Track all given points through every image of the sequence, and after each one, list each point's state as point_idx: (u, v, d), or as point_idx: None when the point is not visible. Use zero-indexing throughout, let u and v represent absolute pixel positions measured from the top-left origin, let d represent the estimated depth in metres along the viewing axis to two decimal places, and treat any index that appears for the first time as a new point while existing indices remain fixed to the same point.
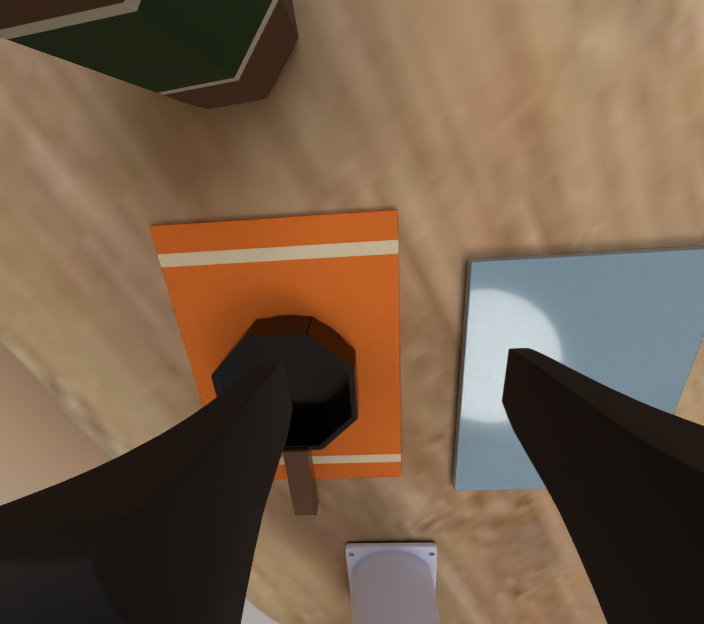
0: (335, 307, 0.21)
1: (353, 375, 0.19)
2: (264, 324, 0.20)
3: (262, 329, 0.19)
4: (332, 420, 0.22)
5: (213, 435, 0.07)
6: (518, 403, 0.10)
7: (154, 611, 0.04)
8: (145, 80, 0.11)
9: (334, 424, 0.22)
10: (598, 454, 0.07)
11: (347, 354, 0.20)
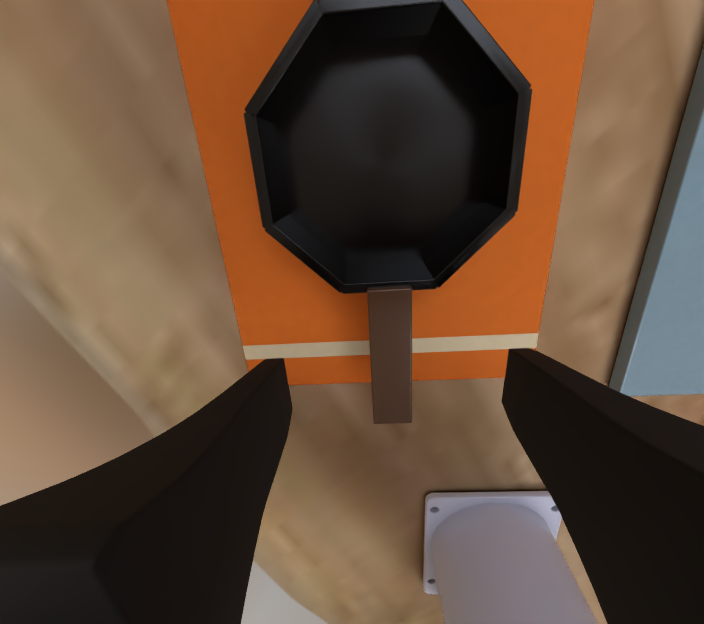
0: (472, 9, 0.11)
1: (528, 100, 0.10)
2: None
3: None
4: (449, 245, 0.13)
5: (213, 434, 0.07)
6: (518, 403, 0.10)
7: (154, 611, 0.04)
8: None
9: (459, 244, 0.12)
10: (598, 454, 0.07)
11: None
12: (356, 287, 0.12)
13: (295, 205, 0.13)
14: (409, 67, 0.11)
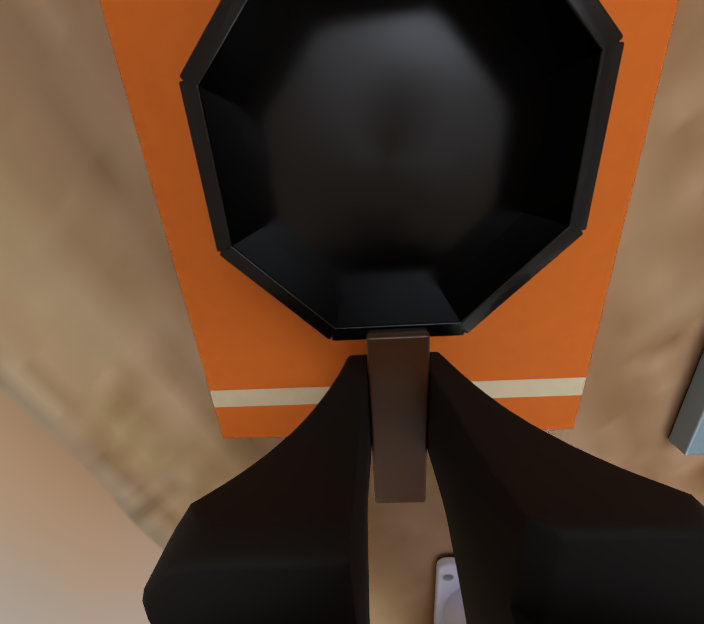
0: None
1: (617, 61, 0.06)
2: None
3: None
4: (479, 272, 0.09)
5: (348, 431, 0.07)
6: None
7: (359, 611, 0.04)
8: None
9: (495, 272, 0.09)
10: (457, 457, 0.07)
11: None
12: (351, 332, 0.09)
13: (269, 216, 0.10)
14: (427, 21, 0.08)
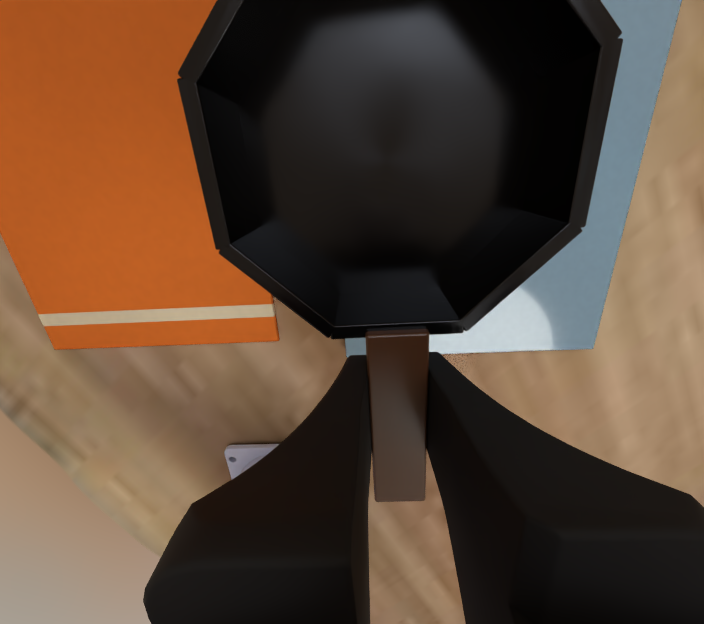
0: (140, 47, 0.14)
1: (616, 57, 0.06)
2: None
3: None
4: (479, 270, 0.09)
5: (349, 431, 0.07)
6: None
7: (359, 611, 0.04)
8: None
9: (494, 270, 0.09)
10: (457, 457, 0.07)
11: None
12: (351, 330, 0.09)
13: (268, 214, 0.10)
14: (426, 18, 0.08)
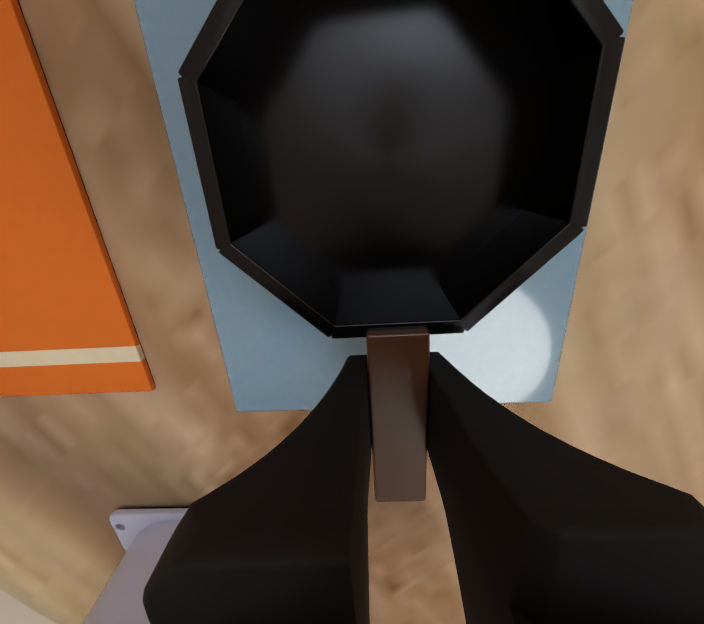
0: None
1: (617, 56, 0.06)
2: None
3: None
4: (479, 270, 0.09)
5: (349, 430, 0.07)
6: None
7: (359, 611, 0.04)
8: None
9: (495, 269, 0.09)
10: (457, 457, 0.07)
11: None
12: (351, 330, 0.09)
13: (269, 214, 0.10)
14: (427, 17, 0.08)
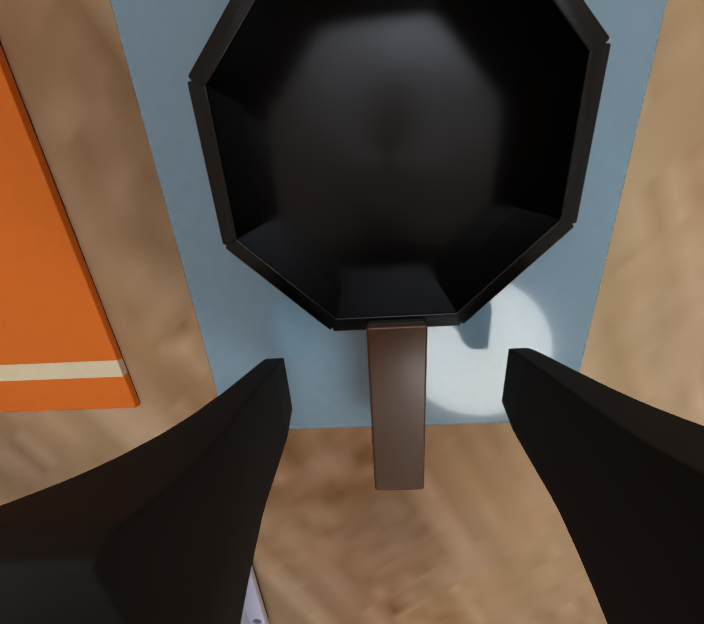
0: None
1: (603, 61, 0.07)
2: None
3: None
4: (475, 266, 0.10)
5: (213, 434, 0.07)
6: (518, 403, 0.10)
7: (154, 611, 0.04)
8: None
9: (490, 264, 0.09)
10: (598, 454, 0.07)
11: None
12: (352, 323, 0.09)
13: (272, 211, 0.10)
14: (424, 23, 0.08)
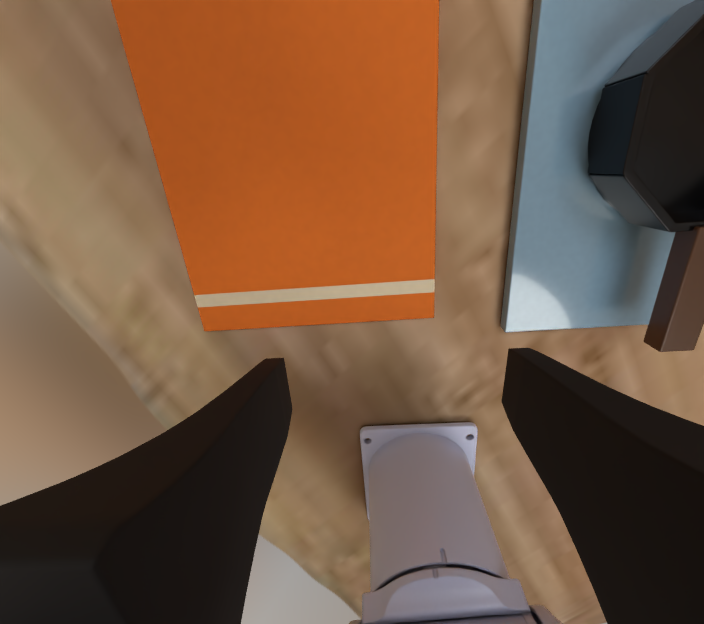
0: (347, 16, 0.14)
1: None
2: None
3: None
4: None
5: (213, 435, 0.07)
6: (518, 403, 0.10)
7: (154, 611, 0.04)
8: None
9: None
10: (598, 454, 0.07)
11: None
12: (685, 226, 0.14)
13: None
14: None
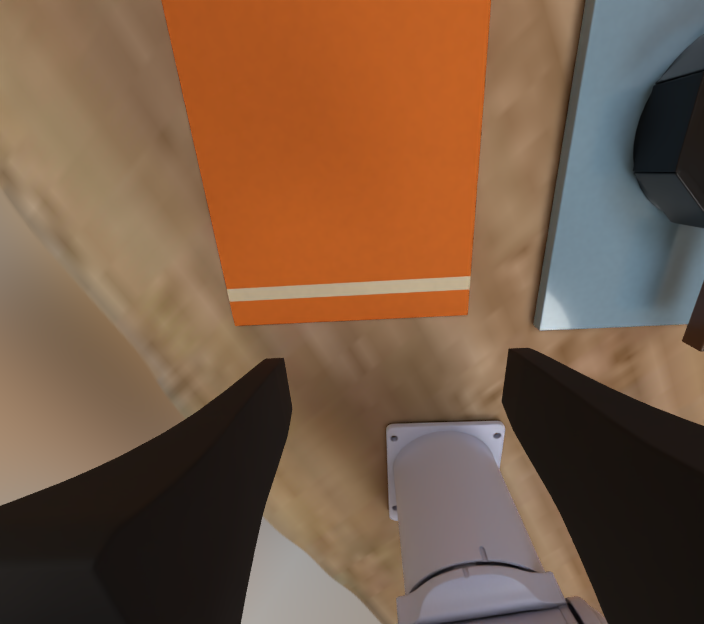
0: (398, 8, 0.14)
1: None
2: None
3: None
4: None
5: (213, 435, 0.07)
6: (518, 403, 0.10)
7: (154, 611, 0.04)
8: None
9: None
10: (598, 454, 0.07)
11: None
12: None
13: None
14: None
